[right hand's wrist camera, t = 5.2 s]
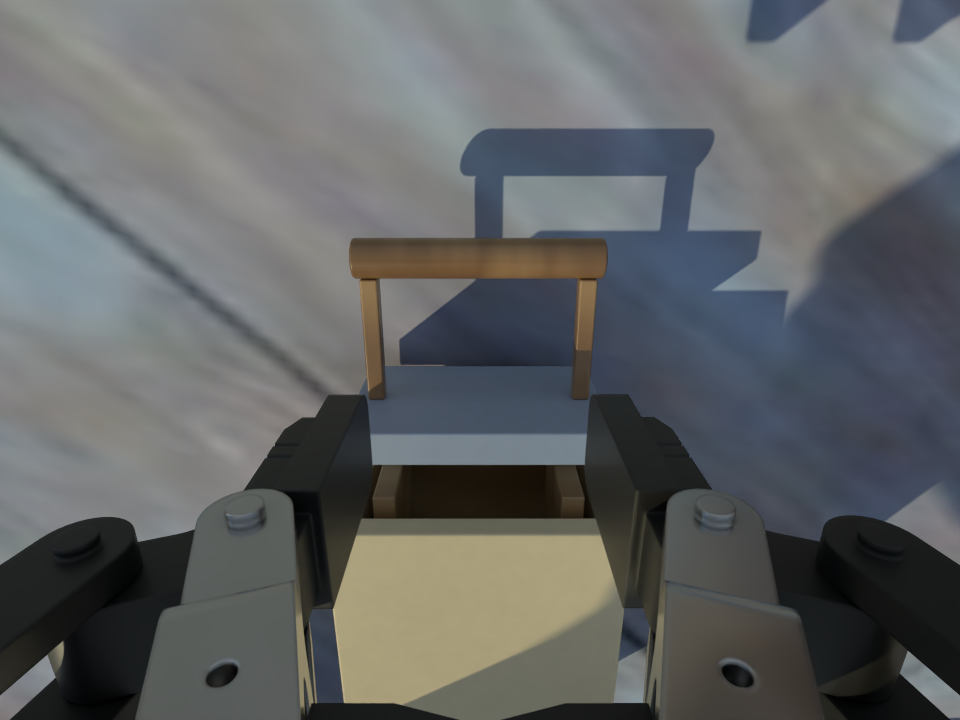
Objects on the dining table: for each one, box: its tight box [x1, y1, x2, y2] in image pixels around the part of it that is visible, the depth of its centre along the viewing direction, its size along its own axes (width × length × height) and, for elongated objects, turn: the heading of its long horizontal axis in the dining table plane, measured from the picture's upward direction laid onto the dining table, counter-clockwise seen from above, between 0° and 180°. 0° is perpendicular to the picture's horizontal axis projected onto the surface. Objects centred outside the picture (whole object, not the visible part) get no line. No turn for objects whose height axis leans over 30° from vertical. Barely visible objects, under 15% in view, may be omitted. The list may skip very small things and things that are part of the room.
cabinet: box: [333, 465, 624, 720], centre depth 25 cm, size 17×10×8 cm, turn 0°
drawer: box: [349, 238, 608, 519], centre depth 23 cm, size 21×9×6 cm, turn 0°
